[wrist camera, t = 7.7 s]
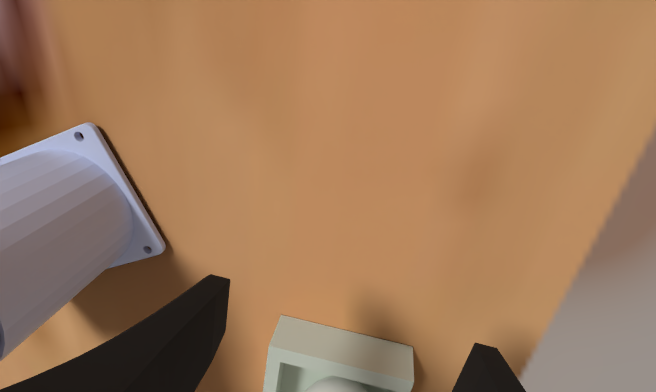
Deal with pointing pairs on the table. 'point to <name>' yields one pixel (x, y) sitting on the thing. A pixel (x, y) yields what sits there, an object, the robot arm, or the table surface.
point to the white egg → (335, 385)
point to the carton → (334, 358)
